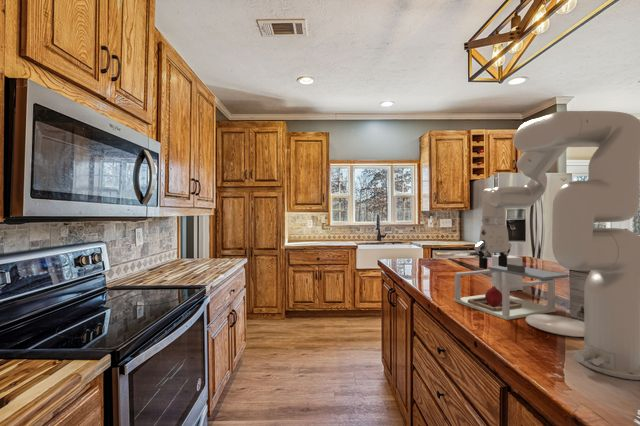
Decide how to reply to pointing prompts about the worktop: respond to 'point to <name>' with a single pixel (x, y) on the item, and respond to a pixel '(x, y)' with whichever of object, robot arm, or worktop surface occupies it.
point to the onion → (493, 296)
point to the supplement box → (508, 277)
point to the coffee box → (577, 292)
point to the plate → (557, 324)
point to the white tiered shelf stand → (506, 298)
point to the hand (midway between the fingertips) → (493, 267)
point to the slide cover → (528, 272)
